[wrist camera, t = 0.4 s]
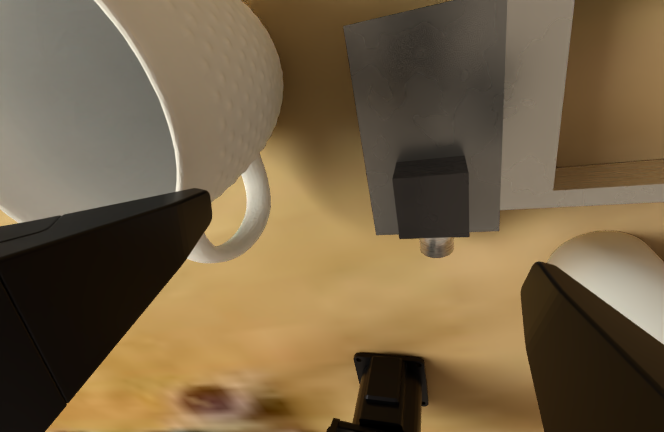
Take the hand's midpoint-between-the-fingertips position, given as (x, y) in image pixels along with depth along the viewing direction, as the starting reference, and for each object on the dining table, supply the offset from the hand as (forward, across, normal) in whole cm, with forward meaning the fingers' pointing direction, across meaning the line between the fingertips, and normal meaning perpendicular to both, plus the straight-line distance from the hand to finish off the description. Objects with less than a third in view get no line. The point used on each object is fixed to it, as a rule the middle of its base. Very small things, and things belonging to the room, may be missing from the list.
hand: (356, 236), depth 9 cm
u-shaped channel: (+14, -7, -1) cm, 16 cm away
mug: (+14, +11, 0) cm, 17 cm away
